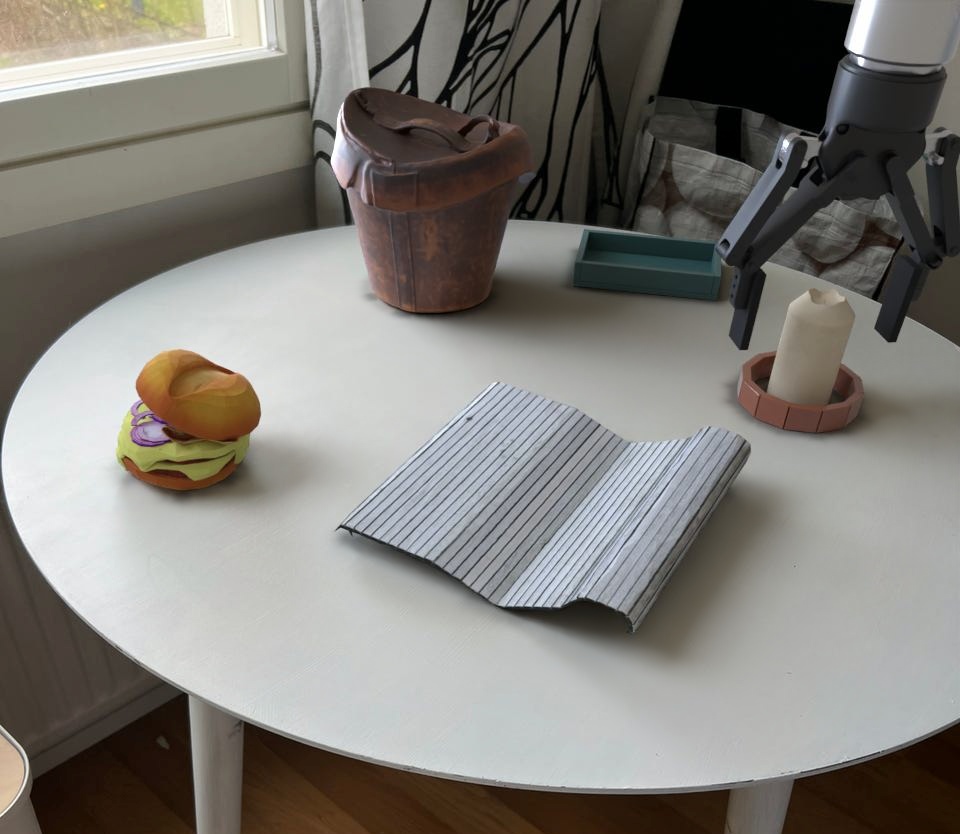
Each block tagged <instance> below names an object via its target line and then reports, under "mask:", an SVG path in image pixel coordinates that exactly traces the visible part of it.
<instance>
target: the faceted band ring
mask: <svg viewBox="0 0 960 834" xmlns="http://www.w3.org/2000/svg"><path fill="white" fill-rule="evenodd" d="M776 354H777V350H773V351H768V352H760V353H758V354H755V355H754V356H753V357H751V358H750V359H748V360H747V361H746V362H745V363H743V364H742V366H741V369H740V374H739V378H738V382H737V386H736V388H737V402H738V404H739V405H741V406H742V408H743V409H745V410H746V411H747V413H749V414H750V415H751V416H752V417H753V418H754V419H757V420H759V421H762V422H764V423H766V424H769V425H771V426H774V427H776V428H779V429H781V430H785V431H796V432H802V433H812V434H815V433H816V434H819V433H824V432H829V431H835V430H840V429H843V428H845V427H847V425H848V424H850V423H851V422H852V421H853V420H854V419H855V418H857V417H858V414H859V411H860V408H861V405H862V403H863V400H864V396H865V393H866V392H865V387H864V384H863V379H862V378H861V376H859V375H858V374H857V373H856V372H854V371H853V370H852V369H851V368H849V367H848V366H847V365H846V364H845V363H842V362H841V365H840V368H839V371H838V374H837V377H836V380H835V383H834V387H833V390H834V391H835V392H836V393H837V394H839V396H841V397H842V398H843V399H844V401H842V402H836V403H831V404H828V405H825V406H812V405H803V404H794V403H790V402H787V401H785V400H782V399H780V398H777V397H775V396H772V395H769V394H767V392H765V391H764V390H763V389H762V388H761V387H760V386H759V385H757V384H756V383H755V382H756V381H758V379H764V378H770V377H771V373H772V369H773V365H774V362H775V358H776Z"/></svg>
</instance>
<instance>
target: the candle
mask: <svg viewBox="0 0 960 834" xmlns="http://www.w3.org/2000/svg"><path fill="white" fill-rule="evenodd" d="M786 312H787V313H786V316H785V320H784V324H783V328H782V332H781V334H780V335H781V336H780V339H779V343H778V346H777V350H776V351H777V354H776V358H775V362H774V365H773V369H772V373H771V377H769V381H768V385H767V389H766V393H767V394H769V395H772V396H775V397H777V398H780V399H782V400H785V401H787V402H790V403H794V404H803V405H812V406H825V405H829V402H830V399H831V396H832V394H833V393H832V392H833V390H834V389H833V387H834V383H835V380H836V377H837V374H838V371H839V368H840V365H841V363H842V361H843V358H844V355H845V352H846V349H847V345H848V342H849V338H850V336H851V333H852V330H853V326H854V323H855V320H856V313H855V310H854V309H853V308H852V306H851V304H850V303H849V301H848V300H847V298H846V296H844V295H841V294H840V292H839V291H838V290H837V289H836V288H828V289H825V290H819V289H816V288H815V287H814V288H809V289H808V290H807V291H805V292H804V293H803V294H801V295H800V296H798V297H797V298H795V299H794V300H792V301H791V302H790V304H789V305H788V309H787V311H786Z"/></svg>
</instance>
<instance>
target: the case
mask: <svg viewBox="0 0 960 834" xmlns="http://www.w3.org/2000/svg"><path fill="white" fill-rule="evenodd" d="M531 147H532V146H531V142H530V138H529V136H528V134H527V132H526V131H525V130H524V129H523V128H522V127H521V126H520V125H518V124H513V123H509V122H506V121H501V120H497V119H495V118H493V117H492V116H491V115H488V114H486V113H485V114H484V113H483V114H480V115H478V116H475V115H471V114H466V113H463V112H461V111H459V110H455V109H453V108H450V107H447V106H446V105H445V106H444V105H442V104H439V103H436V102H432V101H429V100H425V99H422V98H419V97H416V96H412V95H409V94H404V93H401V92H397V91H394V90H391V89H387V88H380V87H373V86H365V87H359V88H356V89H353V90H351V91H350V92H349V93H348V94H347V95H346V96H345V98H344V100H343V102H342V104H341V106H340V108H339V111H338V115H337V120H336V133H335V139H334V145H333V151H332V154H331V158H330V165H331V168H332V170H333V173H334V175H335V177H336V179H337V180H338V183H339V186H340V187H341V188H343V190H346V195H347V199H348V203H349V207H350V210H351V214H352V219H353V222H354V225H355V230H356V233H357V236H358V241H359V246H360V249H361V253H362V256H363V260H364V263H365V264H364V265H365V267H366V271H367V275H368V279H369V284H370V287H371V290H372V291H373V293H374V295H376V296H377V297H378V298H379V299H380V300H381V301H383V302H384V303H387V304H389V305H390V306H393V307H396V308H397V309H400V310H402V311H406V312H411V313H422V314H423V313H424V314H439V313H440V314H441V313H449V312H450V313H451V312H456V311H462V310H466V309H470V308H474V307H475V306H477V305H479V304H482V303H483V302H484V301H485V300H486V299H487V298H488V297H489V295H490V294H491V290H492V285H493V279H494V275H495V272H496V268H497V263H498V259H499V256H500V252H501V249H502V244H503V241H504V237H505V233H506V230H507V227H508V222H509V221H508V220H509V219H510V218H509V217H510V214H511V209H512V205H513V202H514V198H515V194H516V190H517V186H518V183H519V184H520V185H524V184H527V183H528V182H531V181H532V180H533V179H534V178H535V177H537V172H536V169H535V164H534V159H533V158H534V157H533V152H532V148H531Z"/></svg>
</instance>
